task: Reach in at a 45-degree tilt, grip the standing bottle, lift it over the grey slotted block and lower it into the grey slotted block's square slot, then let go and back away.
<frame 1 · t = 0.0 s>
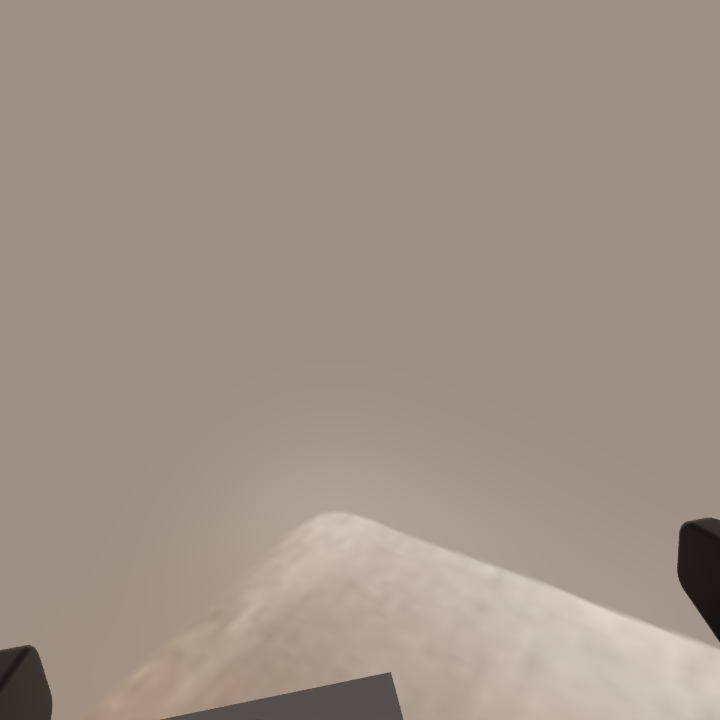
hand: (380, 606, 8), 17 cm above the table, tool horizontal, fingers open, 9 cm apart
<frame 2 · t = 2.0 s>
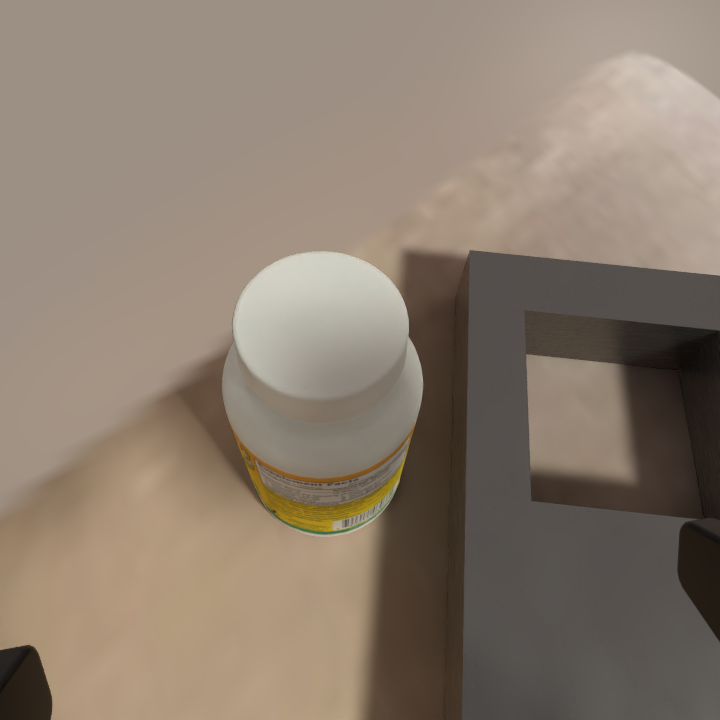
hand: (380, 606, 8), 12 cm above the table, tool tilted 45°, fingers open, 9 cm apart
supplement bottle: (326, 466, 22), on the table
grey slotted block: (606, 521, 21), on the table
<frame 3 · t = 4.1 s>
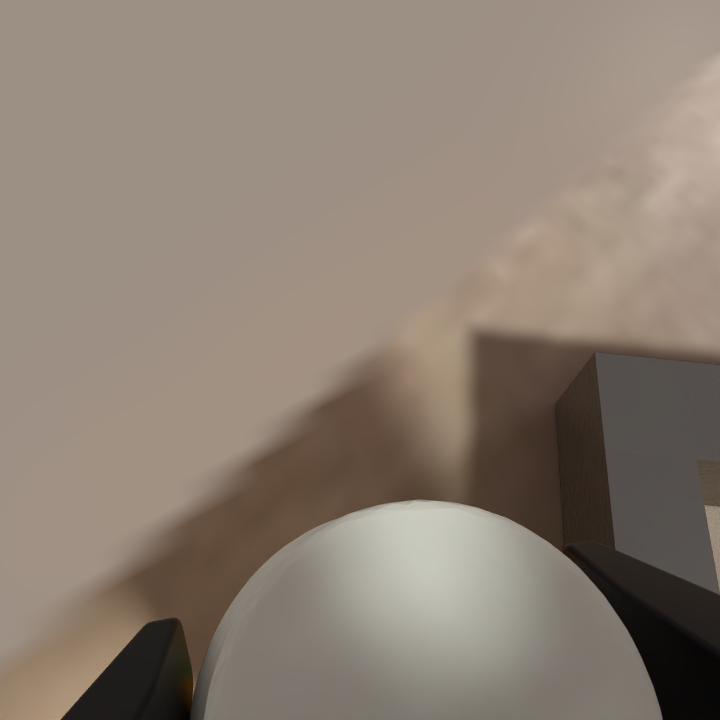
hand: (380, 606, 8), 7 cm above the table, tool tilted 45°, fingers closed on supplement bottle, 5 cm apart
supplement bottle: (373, 709, 14), on the table, touching gripper
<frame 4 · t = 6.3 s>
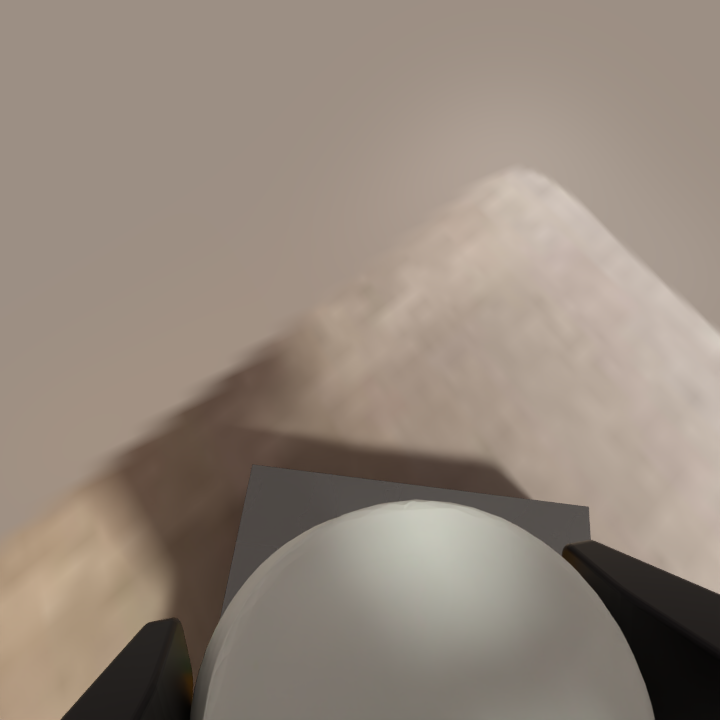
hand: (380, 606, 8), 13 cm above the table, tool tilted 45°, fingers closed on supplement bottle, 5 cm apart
supplement bottle: (371, 706, 14), point 6 cm above the table, touching gripper
when the fingers open (8 cm above the table, at t = 8.2 s): supplement bottle drops 2 cm, resting in grey slotted block.
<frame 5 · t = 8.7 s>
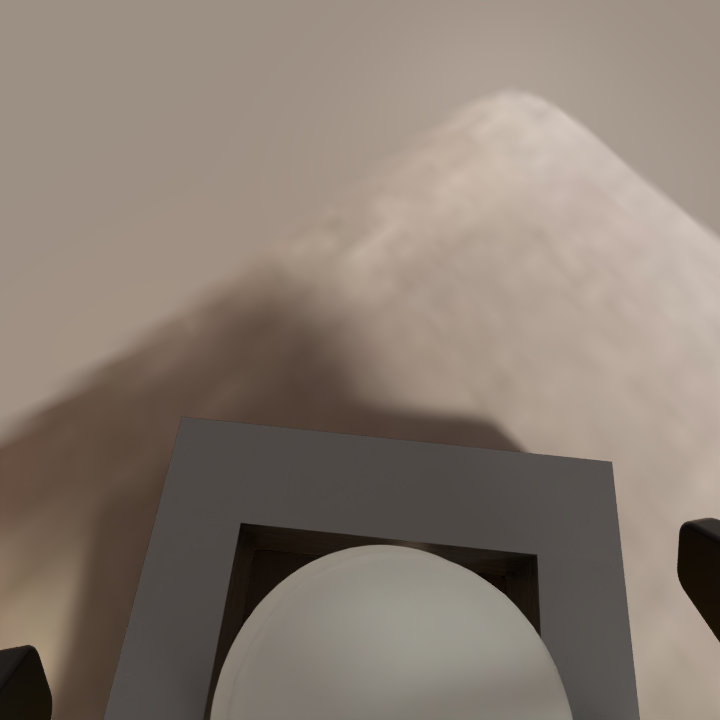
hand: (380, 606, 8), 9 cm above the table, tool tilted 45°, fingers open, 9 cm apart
supplement bottle: (366, 711, 15), resting in grey slotted block
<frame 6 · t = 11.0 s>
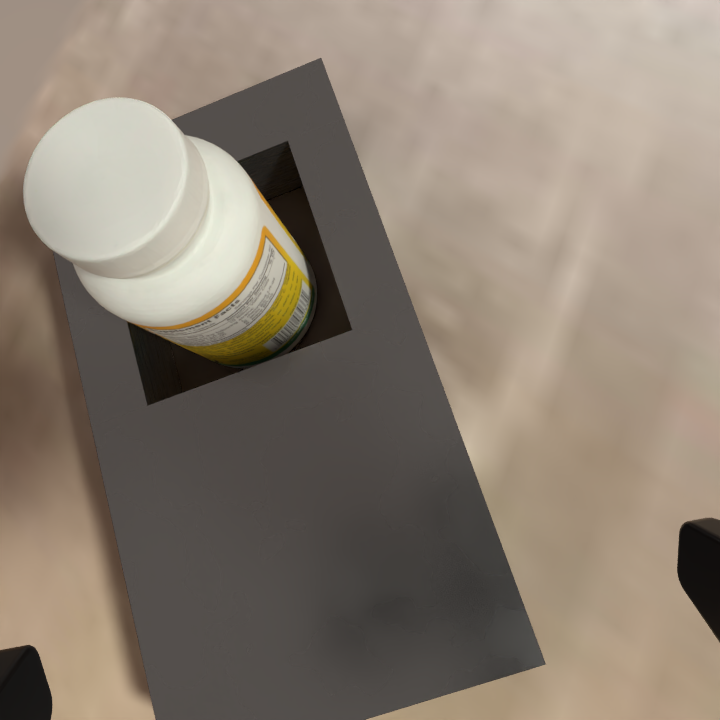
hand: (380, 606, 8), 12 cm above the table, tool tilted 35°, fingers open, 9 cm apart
supplement bottle: (252, 301, 23), resting in grey slotted block
grey slotted block: (272, 370, 22), on the table
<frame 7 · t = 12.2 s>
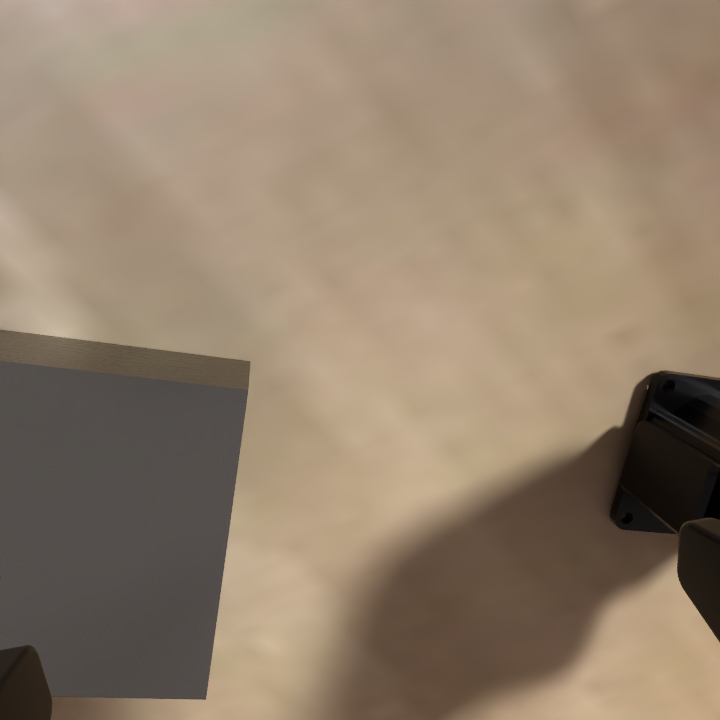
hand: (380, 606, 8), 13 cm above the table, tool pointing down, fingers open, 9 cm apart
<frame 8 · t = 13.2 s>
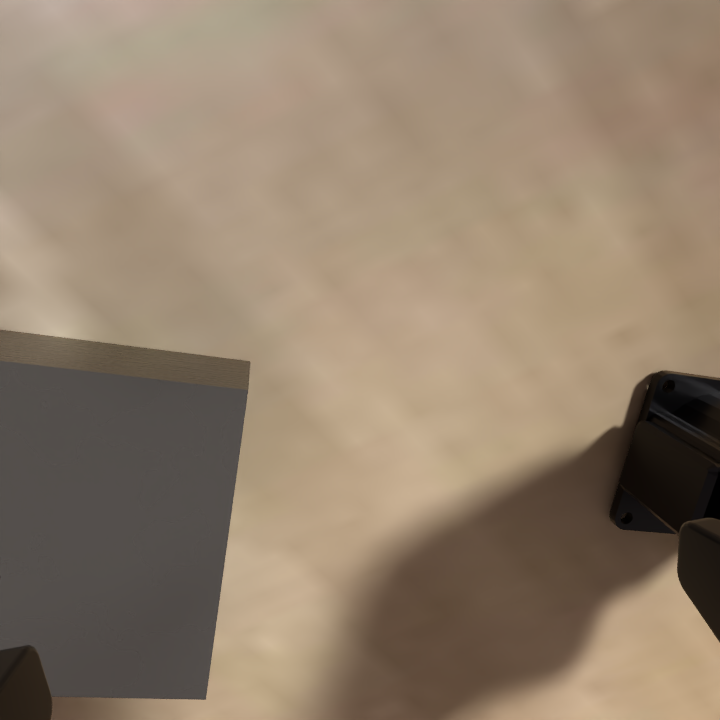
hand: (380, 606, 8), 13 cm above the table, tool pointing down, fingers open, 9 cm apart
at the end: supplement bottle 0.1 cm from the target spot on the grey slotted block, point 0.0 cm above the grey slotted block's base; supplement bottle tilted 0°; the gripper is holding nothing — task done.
